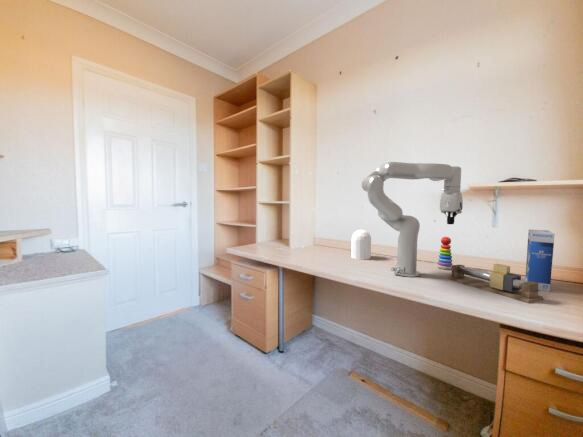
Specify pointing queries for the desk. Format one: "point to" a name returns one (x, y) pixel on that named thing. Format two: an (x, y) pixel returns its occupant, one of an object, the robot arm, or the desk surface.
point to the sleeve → (498, 275)
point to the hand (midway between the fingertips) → (450, 224)
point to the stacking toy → (445, 254)
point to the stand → (526, 295)
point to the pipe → (485, 276)
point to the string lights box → (540, 258)
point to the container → (361, 245)
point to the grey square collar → (510, 282)
